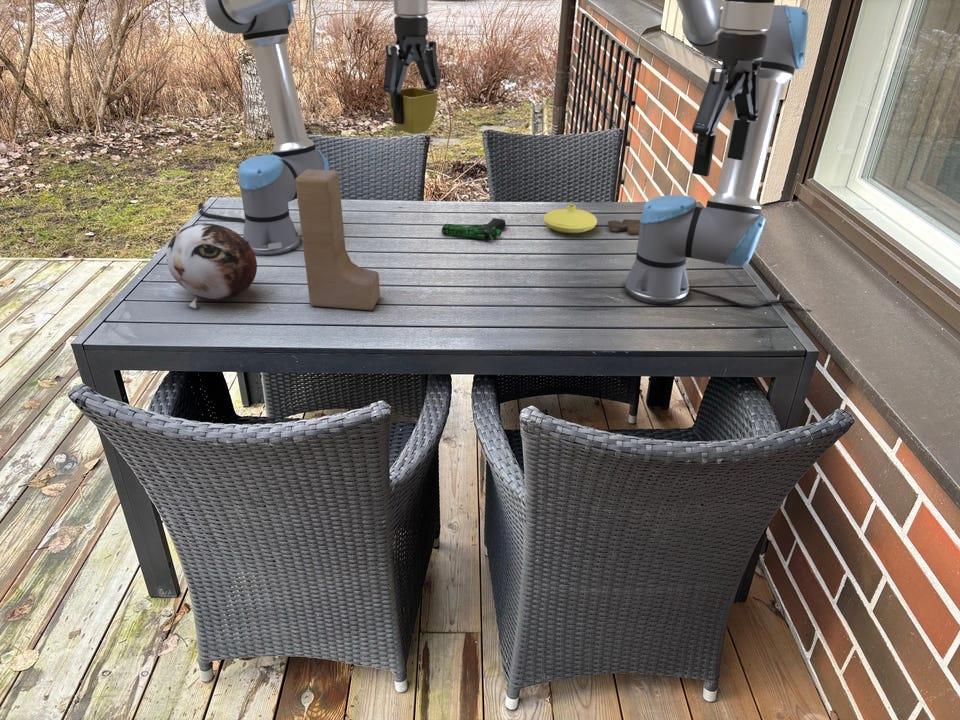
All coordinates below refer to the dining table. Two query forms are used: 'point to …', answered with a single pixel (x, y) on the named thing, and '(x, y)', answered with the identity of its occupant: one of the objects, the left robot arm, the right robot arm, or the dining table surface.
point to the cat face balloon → (211, 261)
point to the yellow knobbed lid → (570, 220)
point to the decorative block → (330, 246)
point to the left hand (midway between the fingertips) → (413, 120)
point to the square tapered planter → (416, 109)
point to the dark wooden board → (625, 226)
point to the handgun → (476, 230)
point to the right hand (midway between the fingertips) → (718, 166)
